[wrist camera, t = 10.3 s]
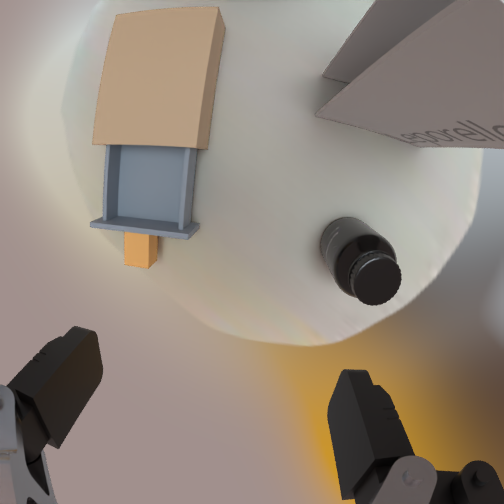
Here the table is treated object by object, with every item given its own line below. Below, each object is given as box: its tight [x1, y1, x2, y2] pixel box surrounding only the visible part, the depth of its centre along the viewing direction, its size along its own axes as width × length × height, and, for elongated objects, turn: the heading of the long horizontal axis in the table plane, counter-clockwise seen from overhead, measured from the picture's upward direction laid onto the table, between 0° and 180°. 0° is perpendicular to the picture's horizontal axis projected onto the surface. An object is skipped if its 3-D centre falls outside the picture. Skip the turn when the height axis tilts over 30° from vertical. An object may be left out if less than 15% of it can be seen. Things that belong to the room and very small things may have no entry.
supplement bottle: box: [321, 217, 402, 306], centre depth 30 cm, size 7×7×12 cm
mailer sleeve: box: [92, 7, 225, 150], centre depth 28 cm, size 16×12×6 cm
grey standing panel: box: [315, 0, 504, 149], centre depth 17 cm, size 14×6×30 cm, turn 80°
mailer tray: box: [90, 145, 200, 269], centre depth 32 cm, size 20×12×5 cm, turn 173°
